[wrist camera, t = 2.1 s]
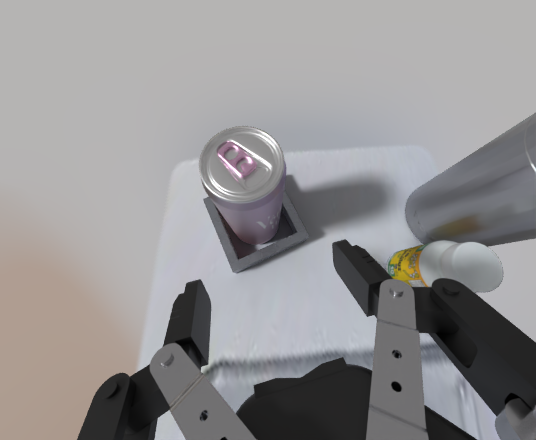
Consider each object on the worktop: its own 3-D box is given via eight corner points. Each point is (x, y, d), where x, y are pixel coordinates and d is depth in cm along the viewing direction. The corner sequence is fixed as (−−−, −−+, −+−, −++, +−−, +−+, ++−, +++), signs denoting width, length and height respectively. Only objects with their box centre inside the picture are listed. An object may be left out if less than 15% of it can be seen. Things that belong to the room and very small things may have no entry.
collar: (273, 178, 30) (273, 169, 28) (306, 240, 28) (309, 236, 26) (208, 206, 29) (203, 199, 27) (236, 273, 27) (232, 272, 25)
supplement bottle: (413, 305, 26) (492, 318, 16) (375, 273, 27) (430, 268, 18) (437, 271, 27) (525, 265, 18) (400, 241, 28) (464, 220, 19)
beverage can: (256, 192, 30) (243, 108, 15) (288, 222, 29) (306, 161, 14) (223, 223, 29) (176, 162, 14) (255, 255, 28) (239, 224, 13)
